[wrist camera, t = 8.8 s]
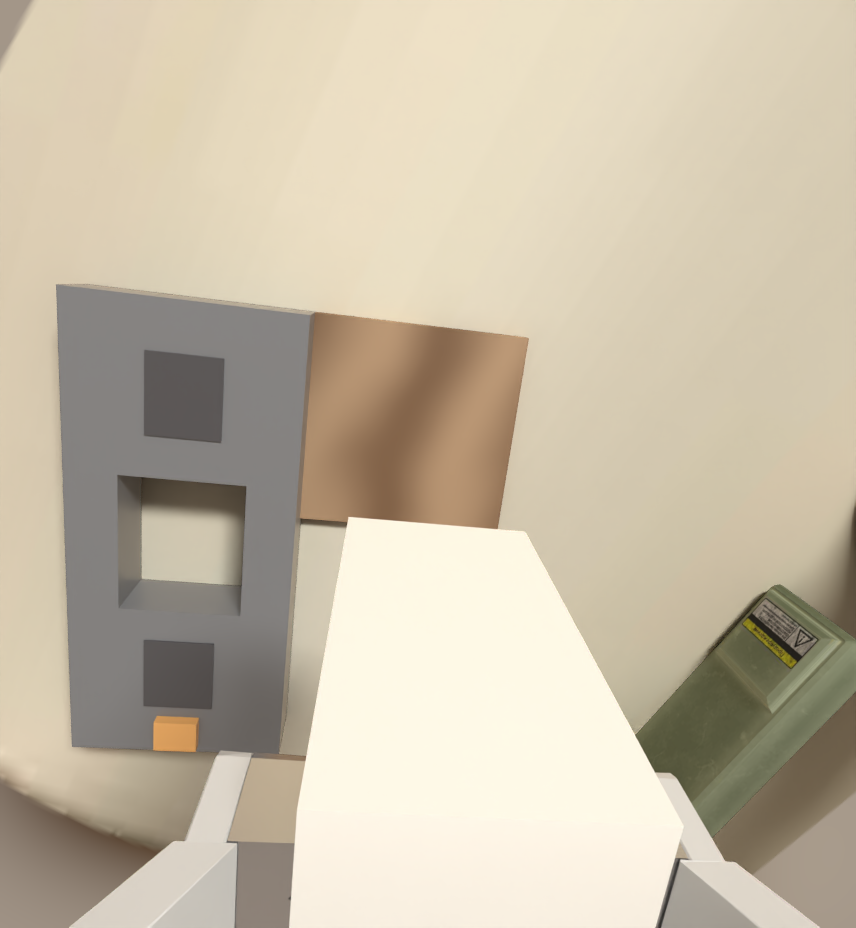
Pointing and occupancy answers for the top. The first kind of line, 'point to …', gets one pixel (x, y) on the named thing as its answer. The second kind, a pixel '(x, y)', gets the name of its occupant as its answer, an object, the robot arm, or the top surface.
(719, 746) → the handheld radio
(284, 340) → the power strip
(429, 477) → the walnut mat
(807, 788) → the top surface
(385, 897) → the block
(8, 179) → the top surface
